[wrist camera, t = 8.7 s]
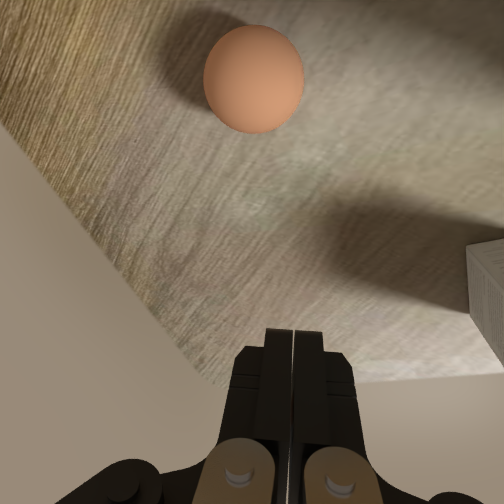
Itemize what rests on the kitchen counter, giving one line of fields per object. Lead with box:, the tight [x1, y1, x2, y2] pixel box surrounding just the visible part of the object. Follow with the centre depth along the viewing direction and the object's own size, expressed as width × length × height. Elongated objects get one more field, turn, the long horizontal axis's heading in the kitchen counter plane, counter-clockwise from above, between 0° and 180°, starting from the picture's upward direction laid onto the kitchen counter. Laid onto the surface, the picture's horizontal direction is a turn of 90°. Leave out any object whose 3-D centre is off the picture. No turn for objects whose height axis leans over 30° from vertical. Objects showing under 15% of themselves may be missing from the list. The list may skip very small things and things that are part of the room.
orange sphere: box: [203, 25, 304, 134], centre depth 23 cm, size 5×5×5 cm
